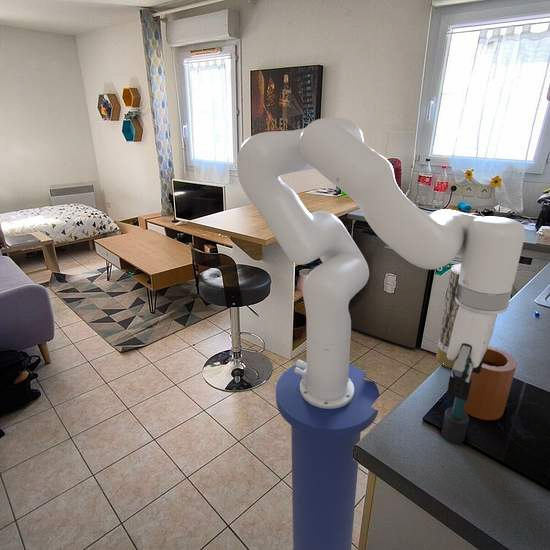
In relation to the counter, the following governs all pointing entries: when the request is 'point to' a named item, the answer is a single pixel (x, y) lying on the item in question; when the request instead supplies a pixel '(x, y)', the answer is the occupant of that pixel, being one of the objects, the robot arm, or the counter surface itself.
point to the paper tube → (448, 318)
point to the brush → (456, 420)
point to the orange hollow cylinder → (491, 385)
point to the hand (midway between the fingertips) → (464, 382)
